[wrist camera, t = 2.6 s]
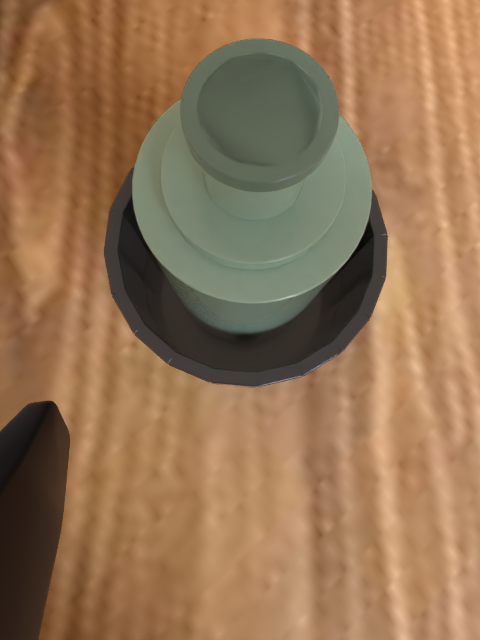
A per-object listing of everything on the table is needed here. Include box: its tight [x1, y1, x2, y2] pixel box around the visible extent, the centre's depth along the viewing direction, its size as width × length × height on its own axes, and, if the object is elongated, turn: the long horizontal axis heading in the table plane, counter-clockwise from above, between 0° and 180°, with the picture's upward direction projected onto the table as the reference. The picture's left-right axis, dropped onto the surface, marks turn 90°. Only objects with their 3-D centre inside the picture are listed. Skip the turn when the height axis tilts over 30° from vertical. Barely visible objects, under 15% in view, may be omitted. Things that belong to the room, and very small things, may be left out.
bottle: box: [132, 39, 372, 343], centre depth 14 cm, size 6×6×12 cm
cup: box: [104, 167, 388, 388], centre depth 18 cm, size 10×10×5 cm
